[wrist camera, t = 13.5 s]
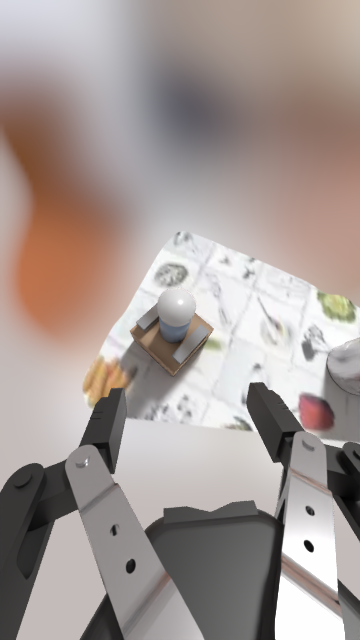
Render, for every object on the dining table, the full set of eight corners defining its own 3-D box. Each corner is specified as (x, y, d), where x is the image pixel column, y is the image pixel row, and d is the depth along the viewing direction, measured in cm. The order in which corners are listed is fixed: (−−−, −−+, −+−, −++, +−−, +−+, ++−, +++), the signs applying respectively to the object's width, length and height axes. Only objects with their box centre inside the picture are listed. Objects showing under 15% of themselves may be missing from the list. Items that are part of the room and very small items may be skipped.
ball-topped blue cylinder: (173, 312, 35) (176, 281, 26) (193, 330, 34) (204, 304, 25) (153, 330, 33) (149, 304, 24) (174, 349, 32) (177, 330, 23)
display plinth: (170, 305, 41) (171, 288, 35) (208, 337, 39) (216, 325, 33) (134, 339, 38) (128, 327, 32) (173, 376, 36) (174, 371, 30)
